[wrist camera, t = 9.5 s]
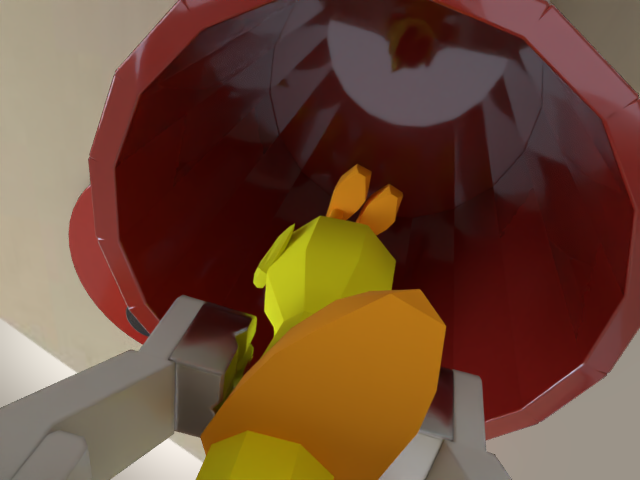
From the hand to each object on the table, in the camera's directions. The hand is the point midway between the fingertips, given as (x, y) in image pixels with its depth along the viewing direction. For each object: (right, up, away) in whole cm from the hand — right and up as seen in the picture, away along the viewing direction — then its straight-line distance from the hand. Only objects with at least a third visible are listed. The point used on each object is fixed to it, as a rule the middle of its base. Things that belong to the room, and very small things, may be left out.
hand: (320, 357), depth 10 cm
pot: (+4, +9, +14) cm, 17 cm away
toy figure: (+1, +4, +5) cm, 7 cm away
